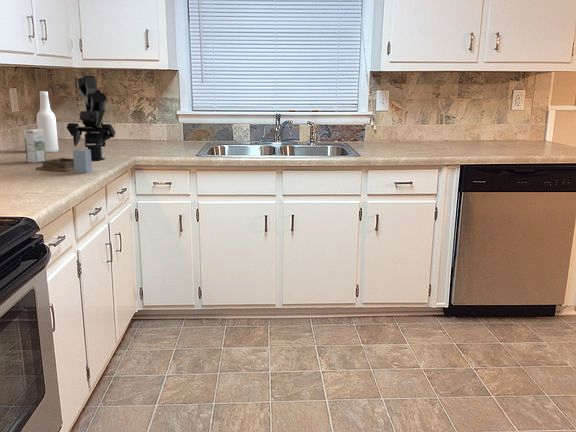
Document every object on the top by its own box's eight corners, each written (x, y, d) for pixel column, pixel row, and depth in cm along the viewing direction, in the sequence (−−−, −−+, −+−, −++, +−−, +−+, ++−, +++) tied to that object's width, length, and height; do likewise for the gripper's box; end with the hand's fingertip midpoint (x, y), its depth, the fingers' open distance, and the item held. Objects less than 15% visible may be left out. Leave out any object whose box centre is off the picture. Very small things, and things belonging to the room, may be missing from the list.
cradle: (61, 164, 226) (60, 156, 225) (90, 166, 222) (89, 159, 221) (35, 169, 212) (34, 161, 211) (65, 171, 208) (64, 164, 207)
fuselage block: (80, 170, 212) (78, 148, 210) (92, 170, 212) (90, 149, 209) (74, 172, 207) (72, 150, 205) (86, 173, 207) (84, 150, 205)
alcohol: (46, 153, 258) (40, 91, 250) (36, 151, 262) (30, 91, 255) (62, 151, 265) (56, 91, 257) (52, 149, 269) (46, 91, 262)
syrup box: (36, 160, 234) (33, 128, 231) (46, 161, 232) (43, 129, 229) (26, 162, 229) (22, 129, 226) (36, 163, 227) (33, 130, 223)
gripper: (66, 103, 212) (55, 132, 204) (110, 104, 210) (100, 133, 202) (77, 121, 221) (66, 149, 213) (119, 122, 220) (110, 151, 212)
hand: (85, 145), depth 210 cm, fingers open, 9 cm apart
